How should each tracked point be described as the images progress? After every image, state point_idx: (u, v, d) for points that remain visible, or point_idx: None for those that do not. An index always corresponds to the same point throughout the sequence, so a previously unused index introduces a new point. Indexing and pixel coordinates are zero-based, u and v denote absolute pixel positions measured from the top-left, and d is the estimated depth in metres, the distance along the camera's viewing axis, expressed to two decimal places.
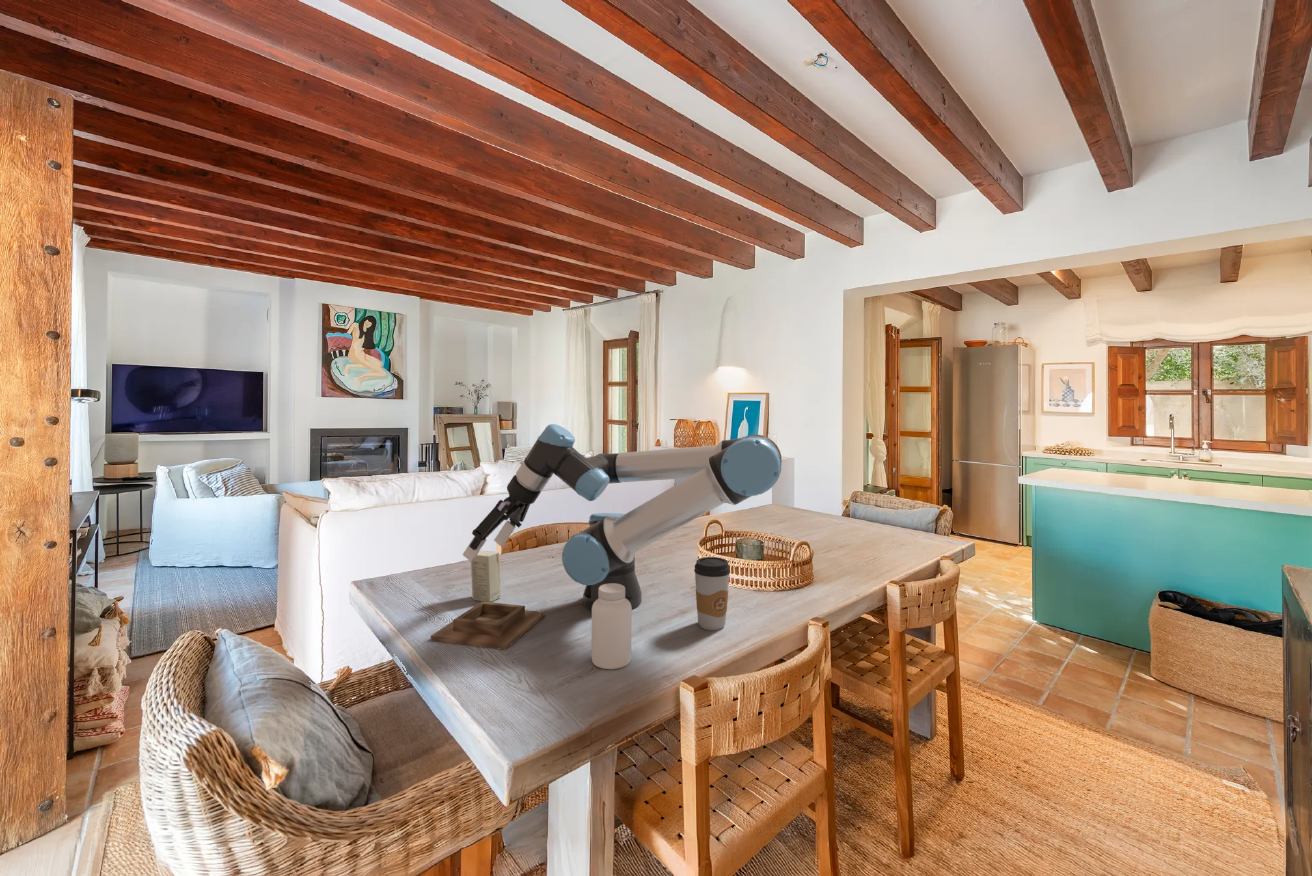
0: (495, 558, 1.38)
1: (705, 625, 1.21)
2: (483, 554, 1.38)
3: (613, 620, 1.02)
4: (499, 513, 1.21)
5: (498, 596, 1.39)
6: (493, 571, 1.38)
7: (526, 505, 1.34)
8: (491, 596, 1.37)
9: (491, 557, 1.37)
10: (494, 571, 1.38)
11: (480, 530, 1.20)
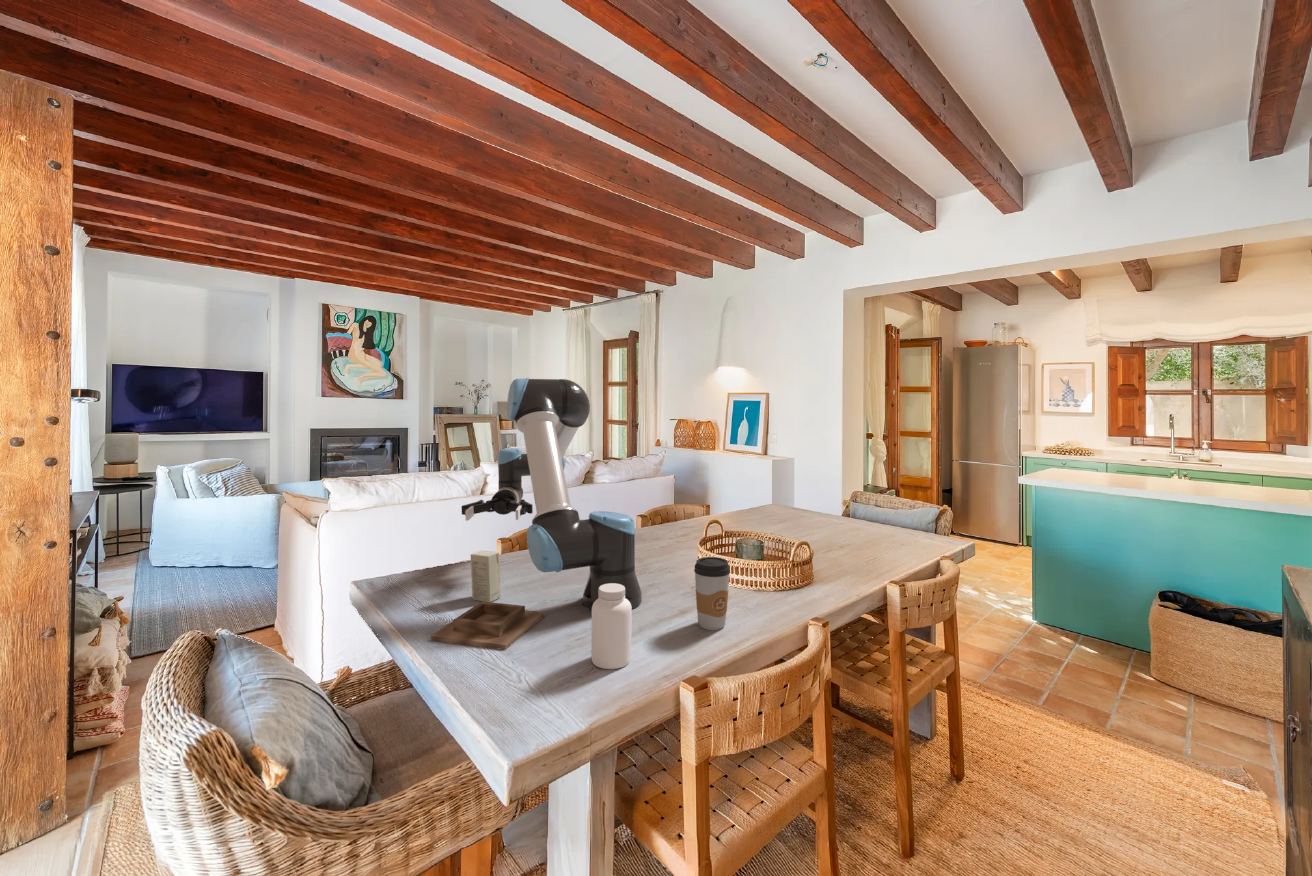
0: (495, 558, 1.38)
1: (705, 625, 1.21)
2: (483, 554, 1.38)
3: (613, 620, 1.02)
4: None
5: (498, 596, 1.39)
6: (493, 571, 1.38)
7: (521, 502, 1.62)
8: (491, 596, 1.37)
9: (491, 557, 1.37)
10: (494, 571, 1.38)
11: None
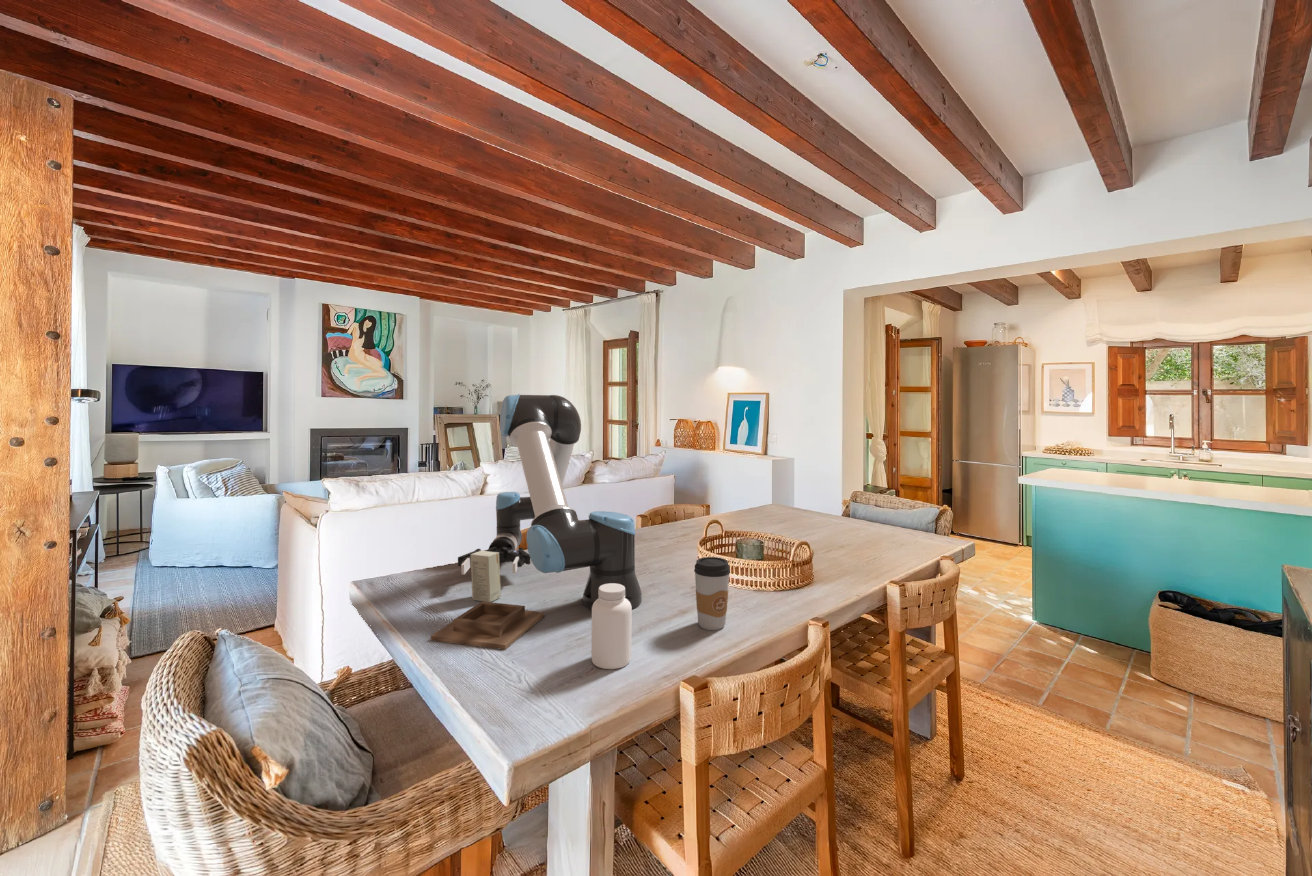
0: (495, 558, 1.38)
1: (705, 625, 1.21)
2: (483, 554, 1.38)
3: (613, 620, 1.02)
4: None
5: (498, 596, 1.39)
6: (493, 571, 1.38)
7: (519, 551, 1.58)
8: (491, 596, 1.37)
9: (491, 557, 1.37)
10: (494, 571, 1.38)
11: None
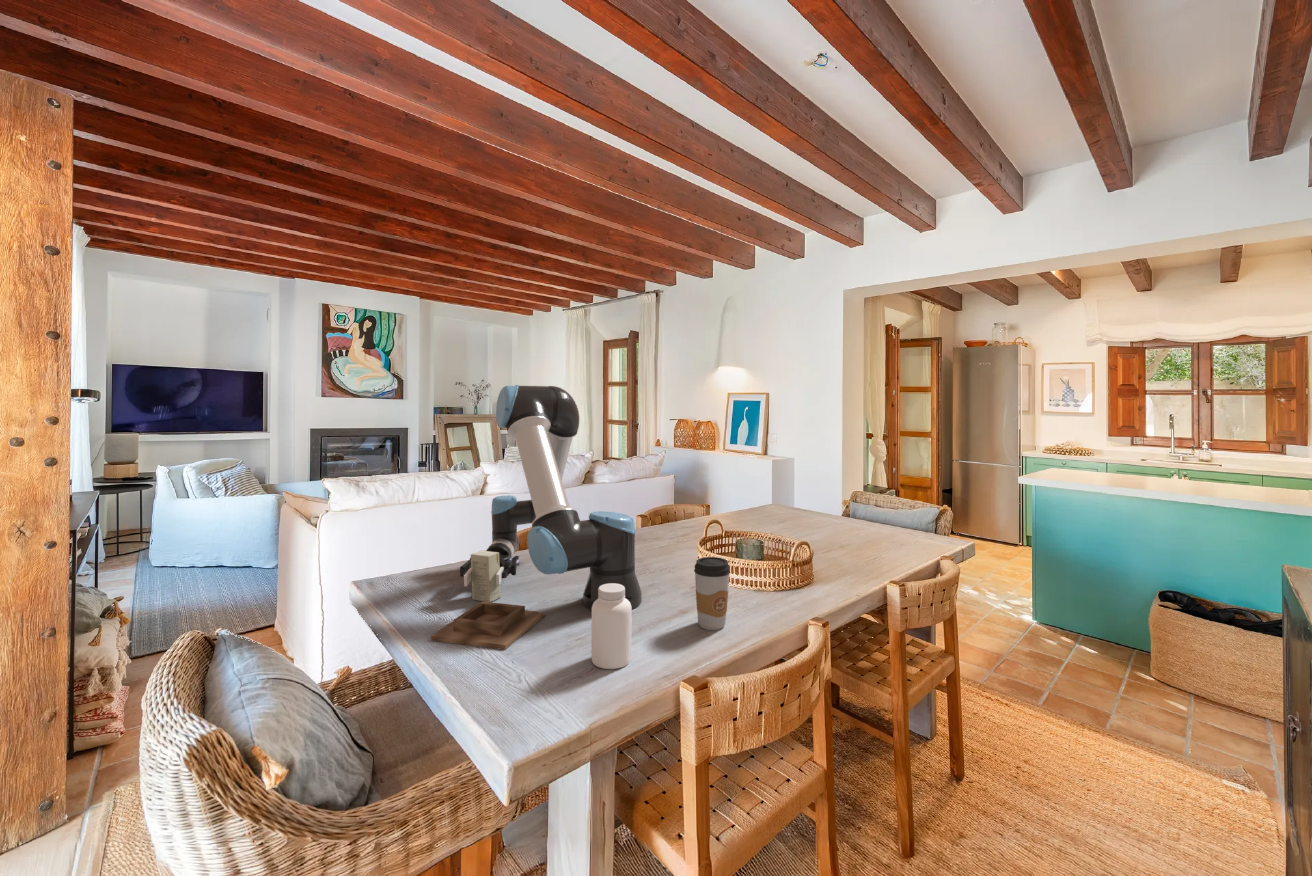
0: (495, 558, 1.38)
1: (705, 625, 1.21)
2: (483, 554, 1.38)
3: (613, 620, 1.02)
4: None
5: (498, 596, 1.39)
6: (493, 571, 1.38)
7: (512, 559, 1.49)
8: (491, 596, 1.37)
9: (491, 557, 1.37)
10: (494, 571, 1.38)
11: None
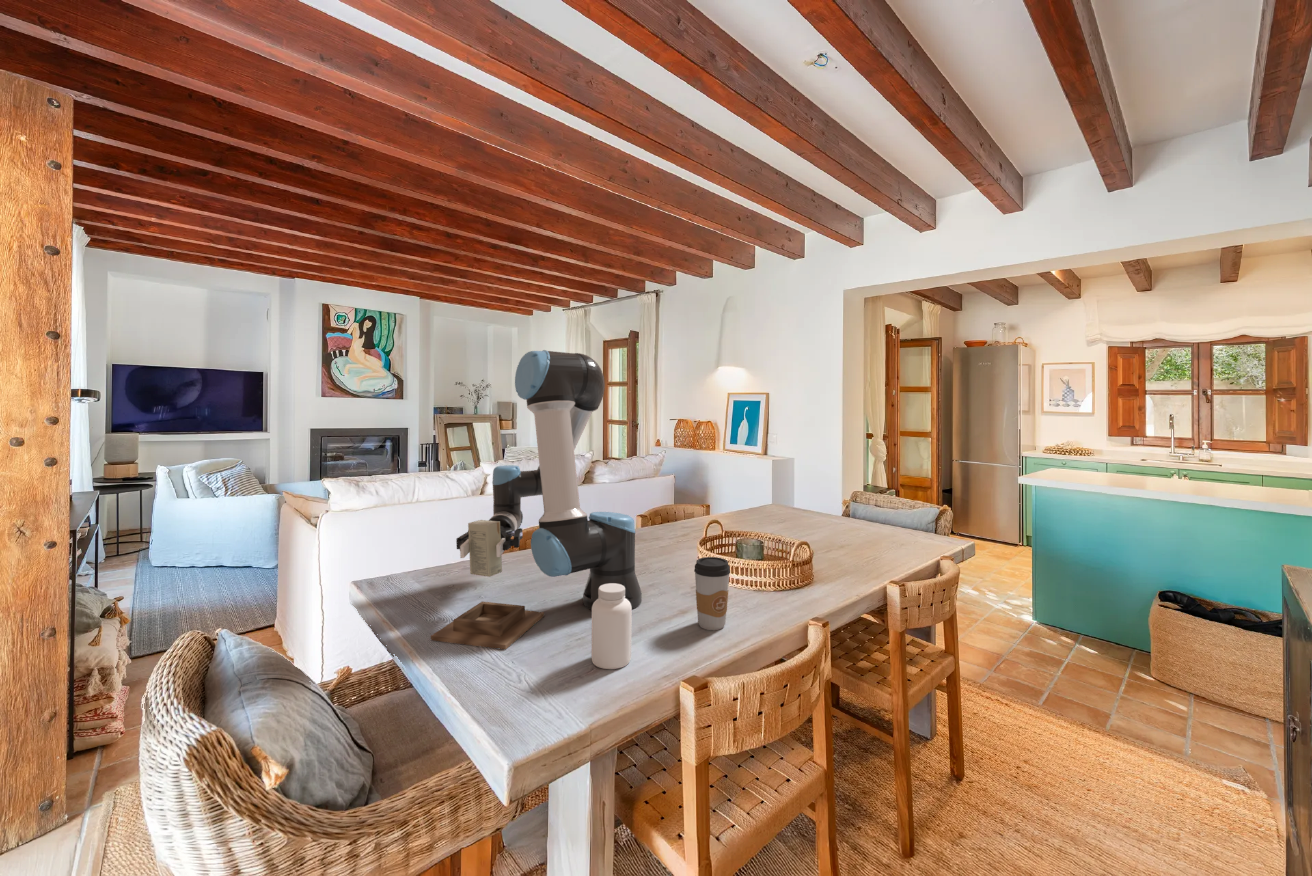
0: (495, 527, 1.23)
1: (705, 625, 1.21)
2: (482, 523, 1.22)
3: (613, 620, 1.02)
4: None
5: (499, 570, 1.24)
6: (493, 541, 1.22)
7: (514, 532, 1.34)
8: (490, 570, 1.22)
9: (491, 526, 1.22)
10: (495, 542, 1.23)
11: None
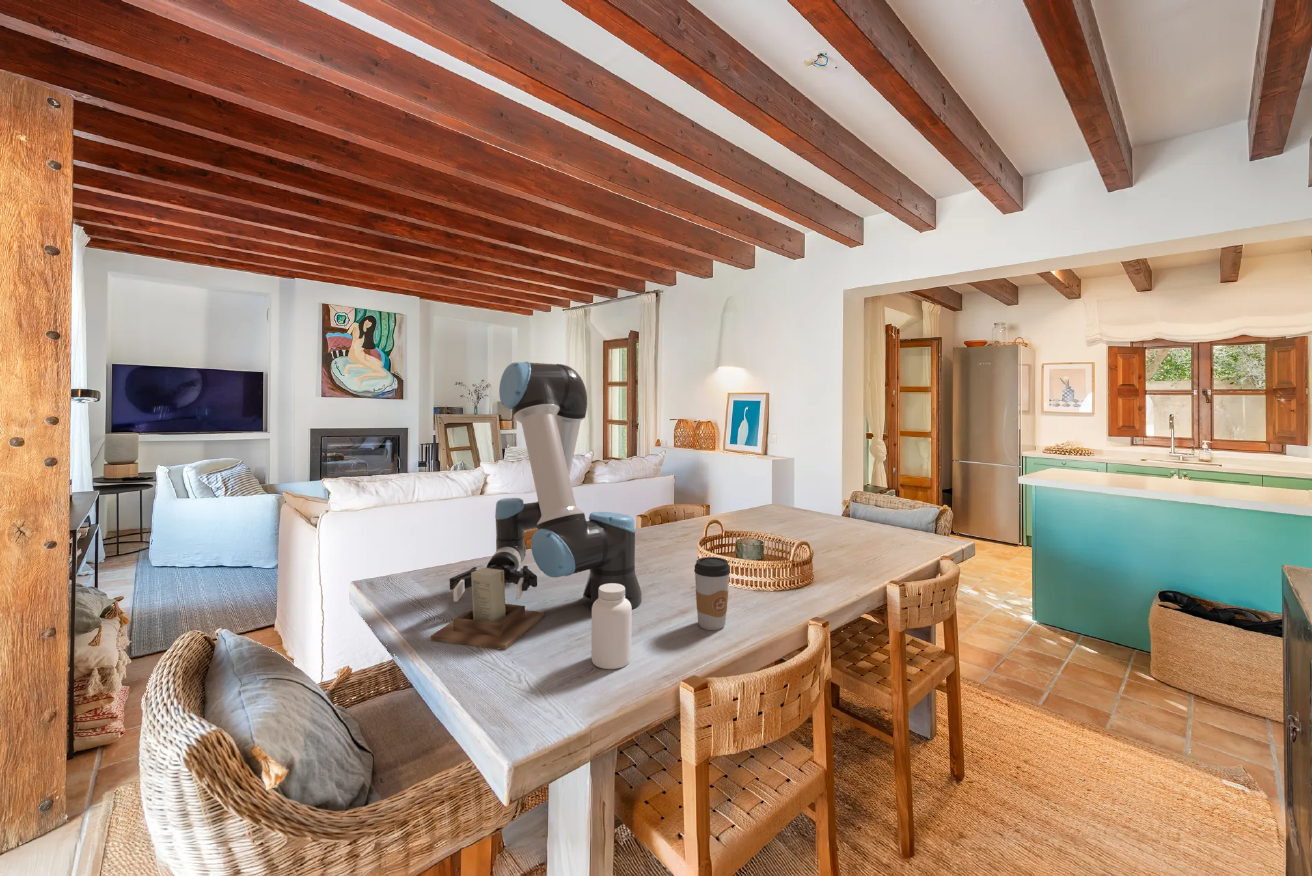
0: (499, 576, 1.20)
1: (705, 625, 1.21)
2: (486, 572, 1.20)
3: (613, 620, 1.02)
4: None
5: None
6: (497, 591, 1.19)
7: (523, 570, 1.32)
8: (494, 621, 1.19)
9: (495, 576, 1.19)
10: (499, 592, 1.20)
11: None
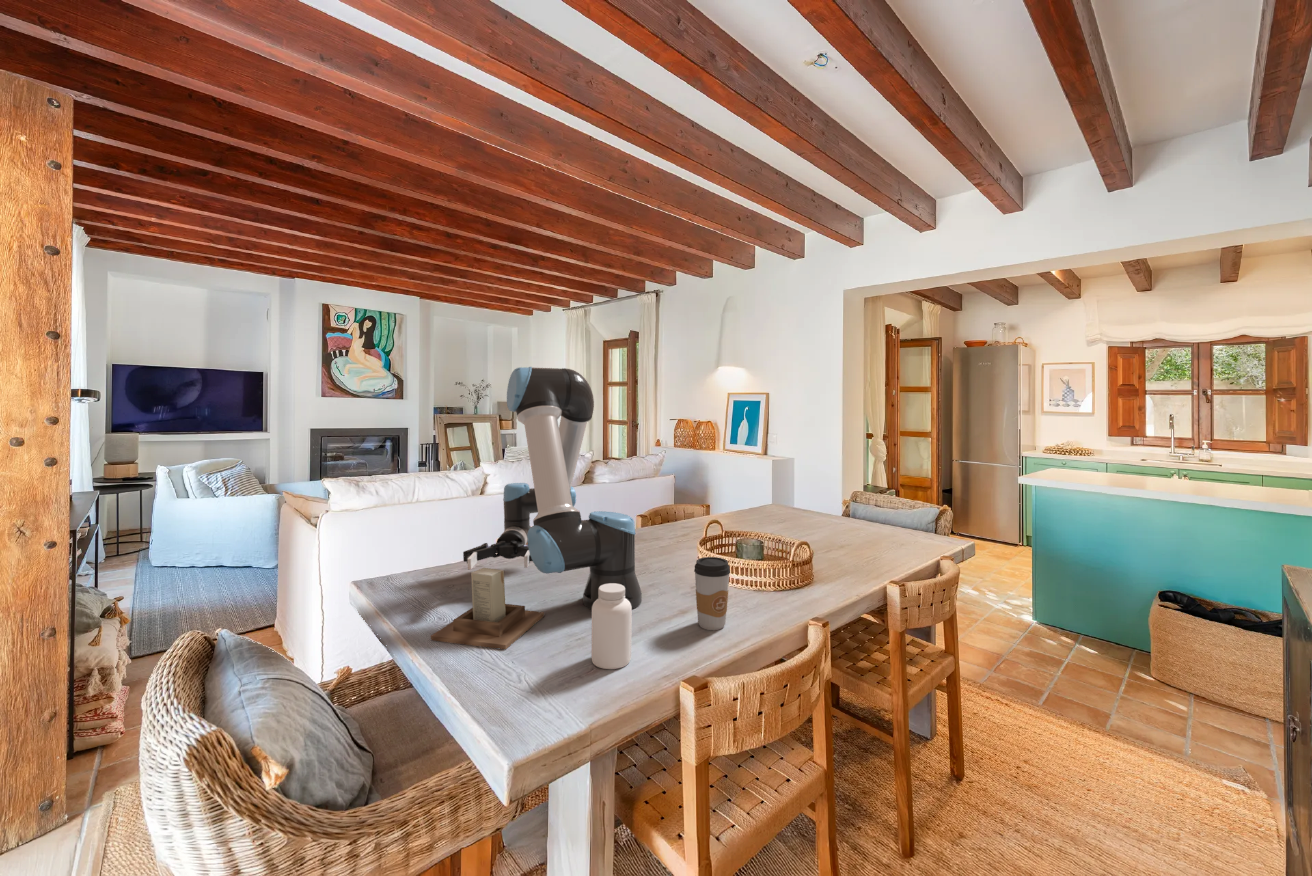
0: (499, 576, 1.20)
1: (705, 625, 1.21)
2: (486, 572, 1.20)
3: (613, 620, 1.02)
4: None
5: None
6: (497, 591, 1.19)
7: None
8: (494, 621, 1.19)
9: (495, 576, 1.19)
10: (499, 592, 1.20)
11: None
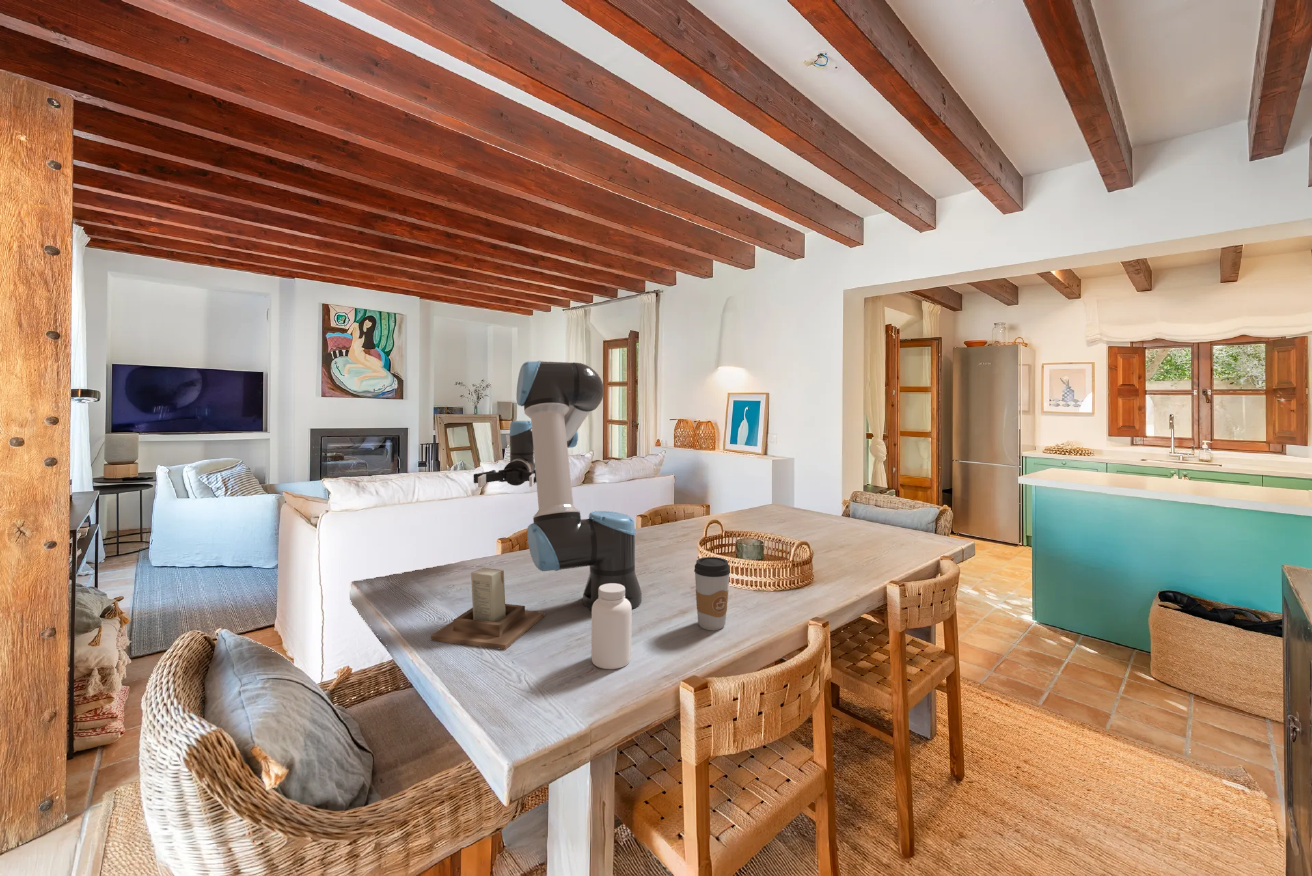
0: (499, 576, 1.20)
1: (705, 625, 1.21)
2: (486, 572, 1.20)
3: (613, 620, 1.02)
4: None
5: None
6: (497, 591, 1.19)
7: (534, 472, 1.58)
8: (494, 621, 1.19)
9: (495, 576, 1.19)
10: (499, 592, 1.20)
11: None
